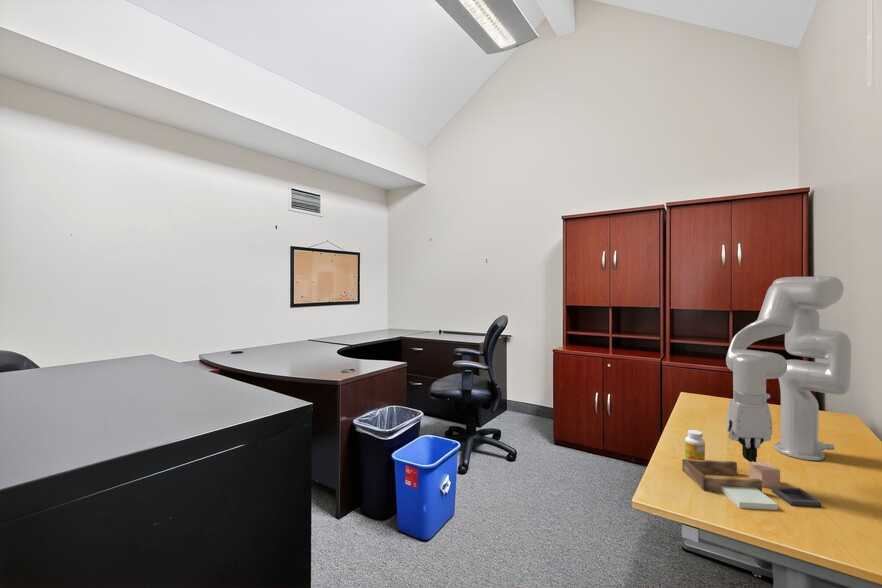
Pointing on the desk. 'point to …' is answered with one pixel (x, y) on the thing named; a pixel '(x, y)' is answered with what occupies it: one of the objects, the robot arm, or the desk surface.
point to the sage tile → (748, 498)
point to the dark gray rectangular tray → (796, 497)
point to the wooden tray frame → (714, 483)
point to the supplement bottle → (694, 446)
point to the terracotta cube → (764, 474)
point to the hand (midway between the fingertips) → (749, 459)
